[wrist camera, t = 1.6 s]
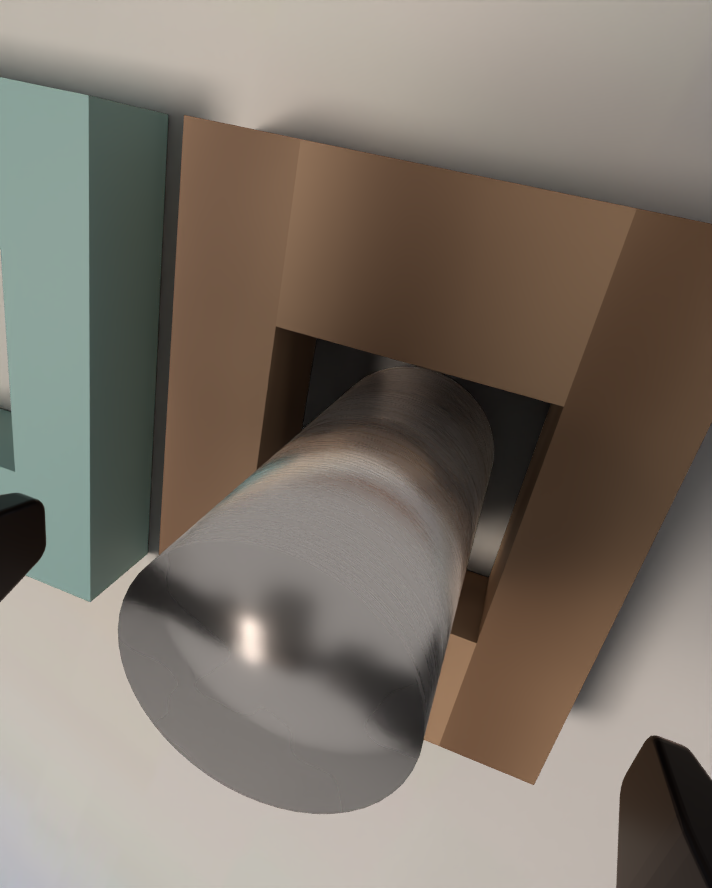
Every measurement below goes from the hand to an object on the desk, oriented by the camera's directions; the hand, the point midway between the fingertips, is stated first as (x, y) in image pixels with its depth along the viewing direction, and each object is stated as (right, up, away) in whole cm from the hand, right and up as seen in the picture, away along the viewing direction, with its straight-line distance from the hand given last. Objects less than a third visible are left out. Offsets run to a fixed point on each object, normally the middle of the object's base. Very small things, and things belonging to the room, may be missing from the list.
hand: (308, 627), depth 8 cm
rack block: (-9, +6, +8) cm, 14 cm away
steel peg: (+2, +2, +6) cm, 7 cm away
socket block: (+2, +2, +6) cm, 7 cm away
